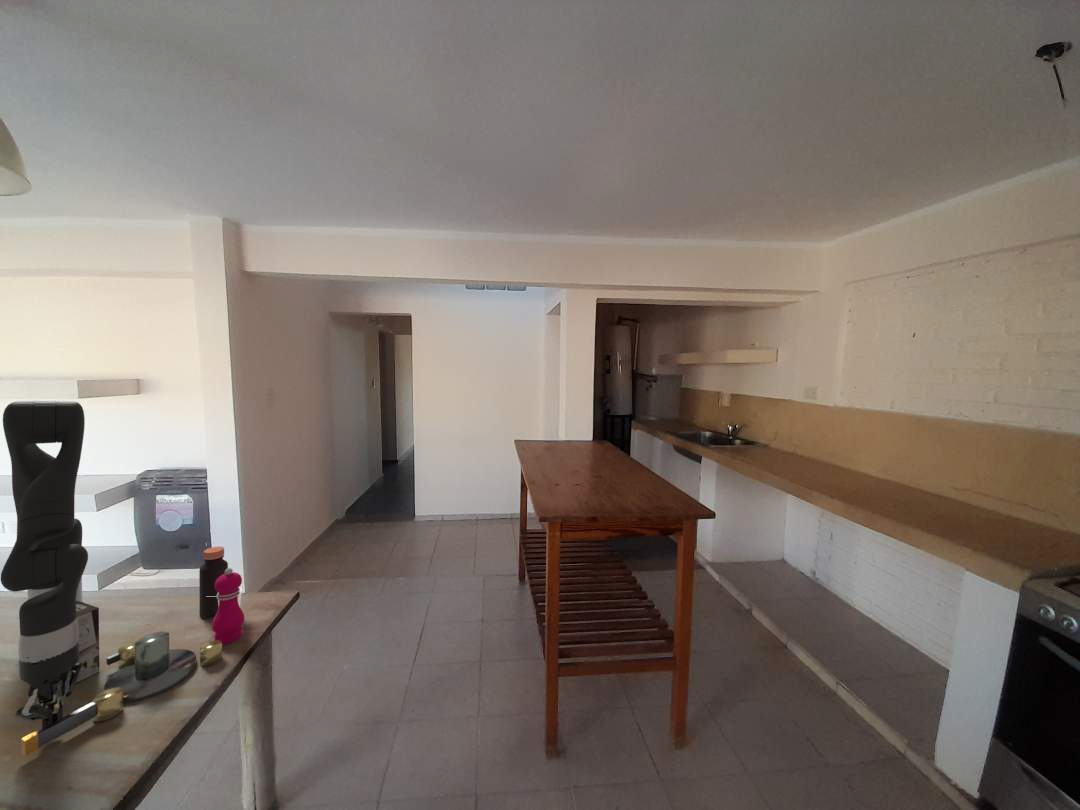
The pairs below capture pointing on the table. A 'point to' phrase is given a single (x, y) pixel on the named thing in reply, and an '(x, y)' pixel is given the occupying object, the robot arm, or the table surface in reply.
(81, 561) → the robot arm
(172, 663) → the base
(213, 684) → the table surface
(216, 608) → the bottle
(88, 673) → the coffee box
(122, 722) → the table surface
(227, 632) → the pepper mill
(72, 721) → the brass head mallet
